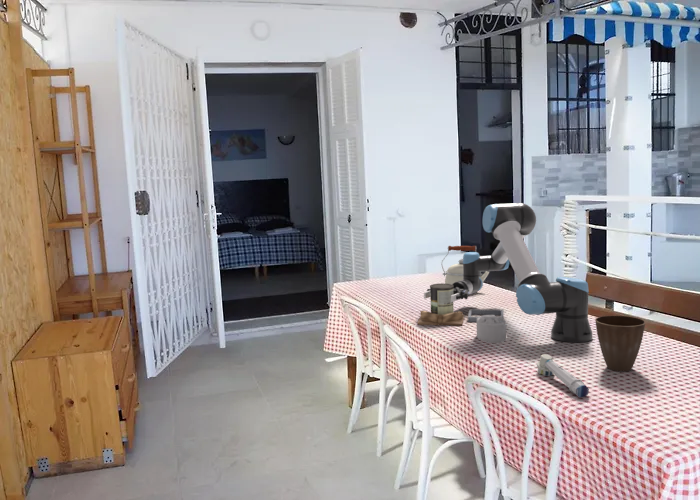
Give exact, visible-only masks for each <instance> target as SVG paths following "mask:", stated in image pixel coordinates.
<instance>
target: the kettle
mask: <svg viewBox="0 0 700 500" xmlns="http://www.w3.org/2000/svg"><path fill="white" fill-rule="evenodd" d="M451 251H457V252H458V251H460V252H462V251H467V252H468V251H469V252H470V251H473V252H477V245H472V246H471V245H455V246H454V245H453V246H451V245H448V246H447V254H446V255H445V256H444V257H443V259H442V260H441V263H443V262H444V260H445V258H447V256H448V255H449V253H450V252H451ZM441 267H442V271H443V273H442V275H444V277H445V279H444V284H453V283H455V282H458V281H460V280H463V258H460V259H459V260H458V263H454V264H452V265H450V266H449V267H448V268H447V270H446V271H445V269H444V266H443V265H441ZM489 274H490V271H485V272H483V273H481V272H479V277H480V278H481V280H482V282H483V283H484V282H485V280H486V278H487V277H488V276H489Z"/></svg>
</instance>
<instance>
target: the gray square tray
mask: <svg viewBox="0 0 700 500" xmlns="http://www.w3.org/2000/svg"><path fill="white" fill-rule="evenodd" d="M467 315H468V316H467V322H468V323H469V322H470V323H477V318H479V317H480V316H472V315H495V316H497V315H498V316H502V317H503V318H504V310H503V309H470V308H469V310H468V314H467ZM504 319H505V318H504Z"/></svg>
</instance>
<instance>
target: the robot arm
mask: <svg viewBox="0 0 700 500" xmlns="http://www.w3.org/2000/svg"><path fill="white" fill-rule="evenodd" d="M536 224H537V216H536V213H535V211H534V210H533V208H532V207H531V206H529V205H528V204H526V203H523V202H513V203H510V202H509V203H494V204H489V205H487V206H485V208H484V210H483V213H482V227H483V230H484V232H486V233H488V234H489V233H492V236H493V238H494V239H496V240H497V241H499V243H498V244H497V246H496V248H495V249H494V251H493V252H492V254H491V255H490V254H489V255H480V253H479V252H477V251H469V252H468V251H467V252H465V253H463V256H462V259H463V280H460V281H458V282H455V283H453V284H452V285H453V286H454V287H453V295H451V302H453V303H455V302H456V301H458V300H468V296H470V295H472V294H476V293H477V292H480V290H482V288H483V286H484V281H483V282H482V280H481V278H480V275H479V274H480V272H483V273H485V272H486V271H487V272H495V271H496V272H501V271H505V270H507V269H509V266H511V268H512V269H513V272H514V274H515V276H516V278H517V280H518V282H519V283H518V284H517V288H516V292H515V297H516V298H517V299H516V302H517V305H518V307H519V308H520V310H521V311H522V312H523V313H524V314H526V315H529V316H530V315H534V316H541V315H545V314H547V315H548V314H555V318H554V321H553V324H552V327H551V329H550V337H551V339H554V340H557V341H560V342H564V343H565V342H567V343H584V342H589V341H592V340H593V330H592V327H591V323H590V321H589V294H590V291H589V284H588V282H587V281H586V280H584V279H580V278H576V277H566V276H557V278H556V279H555V281H551V282H550V281H549V279H548V276H547V275H546V274H544V273H541V272H540V270H539V268H538V266H537V265H536V262H535V260H534V258H533V256H532V255H531V252H530V250H529V248H528V247H527V244H526V243H525V240H524V239H525V237H526V236H528V235H530V234H531V233H532V231H534V228H535V227H536ZM429 298H430V288H428V289H426V291H424V292H423V299H429Z"/></svg>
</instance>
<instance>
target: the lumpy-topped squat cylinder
mask: <svg viewBox="0 0 700 500" xmlns="http://www.w3.org/2000/svg"><path fill="white" fill-rule="evenodd" d="M478 317H479V318H477V322H476V338H477V339H478V340H479V341H482V342H484V343H489V344H500V343H501V344H502V343H504V342H505V341H506V340H507V322H506V320H505V318H503V317H504V316H503V317H502V316H501V315H498V316H497V315H485V314H482V315H481V316H478Z"/></svg>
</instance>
